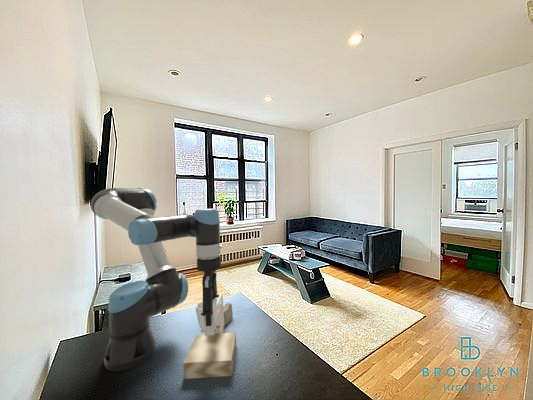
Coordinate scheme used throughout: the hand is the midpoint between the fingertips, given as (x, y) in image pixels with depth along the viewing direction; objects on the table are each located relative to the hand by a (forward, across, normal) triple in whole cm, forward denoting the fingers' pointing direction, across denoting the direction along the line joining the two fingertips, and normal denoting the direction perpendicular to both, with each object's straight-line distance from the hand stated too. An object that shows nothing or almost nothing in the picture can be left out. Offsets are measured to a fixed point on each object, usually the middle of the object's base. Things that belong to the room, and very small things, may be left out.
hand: (211, 325), depth 74 cm
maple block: (+12, 0, 0) cm, 12 cm away
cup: (+1, 0, 0) cm, 1 cm away
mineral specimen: (+11, +22, -1) cm, 25 cm away
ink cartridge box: (+11, +13, 0) cm, 17 cm away
